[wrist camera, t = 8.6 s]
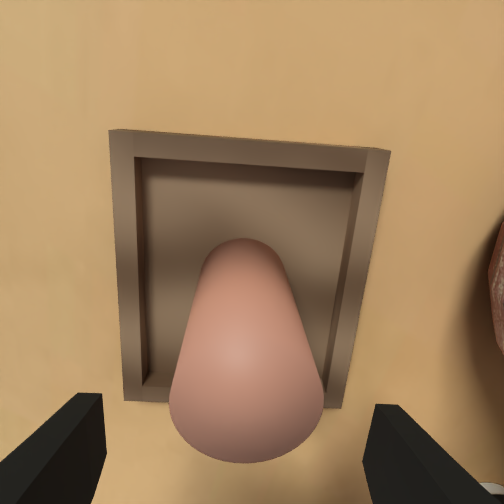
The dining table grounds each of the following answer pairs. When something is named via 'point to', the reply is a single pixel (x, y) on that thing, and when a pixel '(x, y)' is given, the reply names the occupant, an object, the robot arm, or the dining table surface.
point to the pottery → (497, 288)
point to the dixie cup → (495, 490)
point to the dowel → (245, 360)
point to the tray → (239, 226)
